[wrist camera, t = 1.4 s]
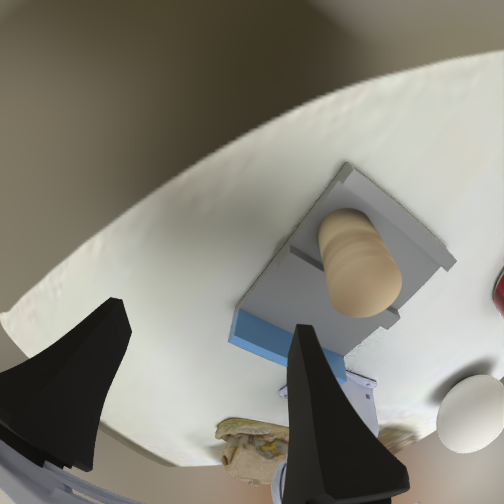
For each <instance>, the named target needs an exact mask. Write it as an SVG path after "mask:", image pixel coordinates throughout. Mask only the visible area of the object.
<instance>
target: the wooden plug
mask: <svg viewBox="0 0 504 504" xmlns="http://www.w3.org/2000/svg"><path fill="white" fill-rule="evenodd" d="M317 237H318V243H319V248H320V253H321V257H322V262H323V267H324V272H325V277H326V282H327V288H328V293H329V298H330V302H331V304H332V306H333V307H334V309H335V310H336V311H338V312H339V313H341V314H342V315H345V316H348V317H352V318H364V317H369V316H373V315H376V314H378V313H380V312H382V311H383V310H385V309H386V308H388V307H389V306H390V305H391V304H392V303H393V302H394V301H395V299H396V298H397V296H398V295H399V292H400V290H401V286H402V275H401V272H400V270H399V268H398V267H397V265H396V263H395V261H394V259H393V258H392V256H391V254H390V252H389V251H388V249H387V247H386V245H385V244H384V242H383V240H382V239H381V237H380V235H379V234H378V232H377V230H376V229H375V227H374V225H373V224H372V222H371V221H370V219H369V218H368V216H367V215H366V214H364V213H363V212H362V211H360V210H357V209H353V208H342V209H338V210H336V211H334V212H332V213H330V214H329V215H328V216H327V217H325V219H324V220H323V221H322V223H321V224H320V226H319V229H318V236H317Z"/></svg>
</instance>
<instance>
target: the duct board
mask: <svg viewBox="0 0 504 504" xmlns="http://www.w3.org/2000/svg"><path fill="white" fill-rule="evenodd" d="M342 208H353V209H357V210H360V211H362V212H363V213H364V214H366V215H367V216H368V218H369V219H370V221H371V222H372V224H373V225H374V227H375V229H376V230H377V232H378V234H379V235H380V237H381V239H382V240H383V242H384V244H385V245H386V247H387V249H388V251H389V252H390V254H391V256H392V258H393V259H394V261H395V263H396V265H397V267H398V268H399V270H400V272H401V275H402V286H401V290H400V292H399V295H398V296H397V298H396V299H395V301H394V302H393V303H392V304H391V305H390V306H389V307H388V308H386V309H385V310H383V311H382V312H380V313H378V314H376V315H373V316H369V317H364V318H352V317H348V316H345V315H342V314H341V313H339V312H338V311H336V310H335V309H334V307H333V306H332V304H331V302H330V298H329V293H328V288H327V282H326V277H325V272H324V267H323V262H322V257H321V253H320V248H319V243H318V237H317V236H318V229H319V226H320V224H321V223H322V221H323V220H324V219H325V217H327V216H328V215H329V214H330V213H332V212H334V211H336V210H338V209H342ZM456 262H457V260H456V259H455V258H454V257H453V256H452V254H451V253H450V252H449V251H448V249H447V248H446V247H445V246H444V245H443V244H442V243H441V242H440V241H439V240H438V239H437V238H436V237H435V236H434V235H433V234H432V233H431V232H430V231H429V230H428V229H426V228H425V227H424V226H423V225H422V224H421V223H420V222H419V221H418V220H417V219H416V218H415V217H414V216H412V215H411V214H410V213H409V212H408V211H407V210H406V209H405V208H403V207H402V206H401V205H400V204H399V203H398V202H397V201H395V200H394V199H393V198H392V197H391V196H390V195H388V194H387V193H386V192H385V191H384V190H382V189H381V188H380V187H379V186H377V185H376V184H375V183H374V182H372V181H371V180H370V179H369V178H367V177H366V176H365V175H363V174H362V173H361V172H360V171H358V170H357V169H356V168H354V167H353V166H352V165H350V164H349V163H348V162H346V163H345V164H344V166H343V167H342V169H341V170H340V171H339V173H338V174H337V175H336V177H335V178H334V179H333V181H332V182H331V183H330V185H329V186H328V187H327V189H326V190H325V191H324V193H323V194H322V195H321V197H320V198H319V200H318V201H317V202H316V204H315V205H314V206H313V207H312V209H311V210H310V211H309V213H308V214H307V215H306V217H305V218H304V219H303V221H302V222H301V223H300V225H299V226H298V227H297V229H296V230H295V231H294V233H293V234H292V235H291V236H290V238H289V239H288V240H287V242H286V243H285V244H284V246H283V247H282V248H281V250H280V251H279V252H278V253H277V255H276V256H275V257H274V259H273V260H272V261H271V262H270V264H269V265H268V266H267V268H266V269H265V270H264V272H263V273H262V274H261V275H260V277H259V278H258V279H257V280H256V282H255V283H254V284H253V286H252V287H251V288H250V289H249V291H248V292H247V293H246V295H245V296H244V297H243V298H242V300H241V301H240V302H239V303H238V305H237V306H236V307H235V311H234V316H233V320H232V325H231V330H230V335H229V339H228V342H229V343H231V344H233V345H236V346H238V347H240V348H242V349H245V350H247V351H249V352H252V353H254V354H256V355H259V356H261V357H263V358H266V359H268V360H271V361H273V362H276V363H278V364H281V365H283V366H286V367H287V360H288V352H289V349H290V345H291V342H292V338H293V335H294V331H295V327H296V324H306V325H312V326H313V327H314V329H315V332H316V335H317V338H318V340H319V343H320V345H321V347H322V350H323V352H324V354H325V357H326V359H327V361H328V363H329V365H330V367H331V369H332V371H333V373H334V375H335V377H336V379H337V381H338V383H339V384H340V386H341V385H342V384H344V383H345V382H347V377H346V370H345V363H344V357H343V356H345V355H346V354H347V353H348V352H350V351H351V350H352V349H353V348H355V347H356V346H357V345H358V344H359V343H361V342H362V341H363V340H364V339H366V338H367V337H368V336H369V335H370V334H371V333H373V332H374V331H375V330H376V329H377V328H378V327H380V326H381V327H383V328H385V329H387V330H388V329H389V328H390V327H391V326H392V325H394V324H395V323H396V322H397V321H398V320H399V319H400V315H399V313H398V311H397V310H398V309H399V308H400V307H401V306H403V305H404V304H405V303H406V302H407V301H408V300H409V299H410V298H411V297H412V296H413V295H414V294H415V293H416V292H417V291H418V290H419V289H420V288H421V287H422V286H423V285H424V284H425V283H426V282H427V281H428V280H429V279H430V278H431V276H432V275H433V274H434V273H435V272H436V271H437V270H438V269H439V268H440V267H441V266H442V267H443V268H444V269H445V270H446V271H447V272H448V271H449V269H450V268H451V267H452V266H453V265H454V264H455V263H456Z"/></svg>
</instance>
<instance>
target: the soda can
mask: <svg viewBox="0 0 504 504" xmlns="http://www.w3.org/2000/svg"><path fill="white" fill-rule="evenodd" d="M494 303H495V306H496V307H497V309H498V310H499V312H500V313H501V315H502V317H503V318H504V270H503V272H502V273H501V275H500V277H499V279H498V281H497V283H496V287H495V291H494Z"/></svg>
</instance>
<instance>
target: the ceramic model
mask: <svg viewBox="0 0 504 504" xmlns="http://www.w3.org/2000/svg"><path fill="white" fill-rule="evenodd" d="M215 438H216V439H221V438H222V439H223V440H225V441H226V442H227V445H226V448H224V449H223V451H224V454H225V455H224V456H223V457H222V463H223V466H224V467H225V469H226V470H227V471H228V472H230V473H231V474H232V475H233V476H234V478H236V479H238V480H242V481H249V486H254V487H258V486H259V483H261V484H272V477H273V474H274V472H275V470H276V468H277V467H278V466H279V464H280V463H282V462H284V461H286V454H288V442H289V427H284V426H279V425H274V424H270V423H265V422H259V421H254V420H248V419H240V418H239V419H238V418H233V419H228V420H226V421H224V422H221V423H220V424H219V426H218V429H217V431H216V435H215Z"/></svg>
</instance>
